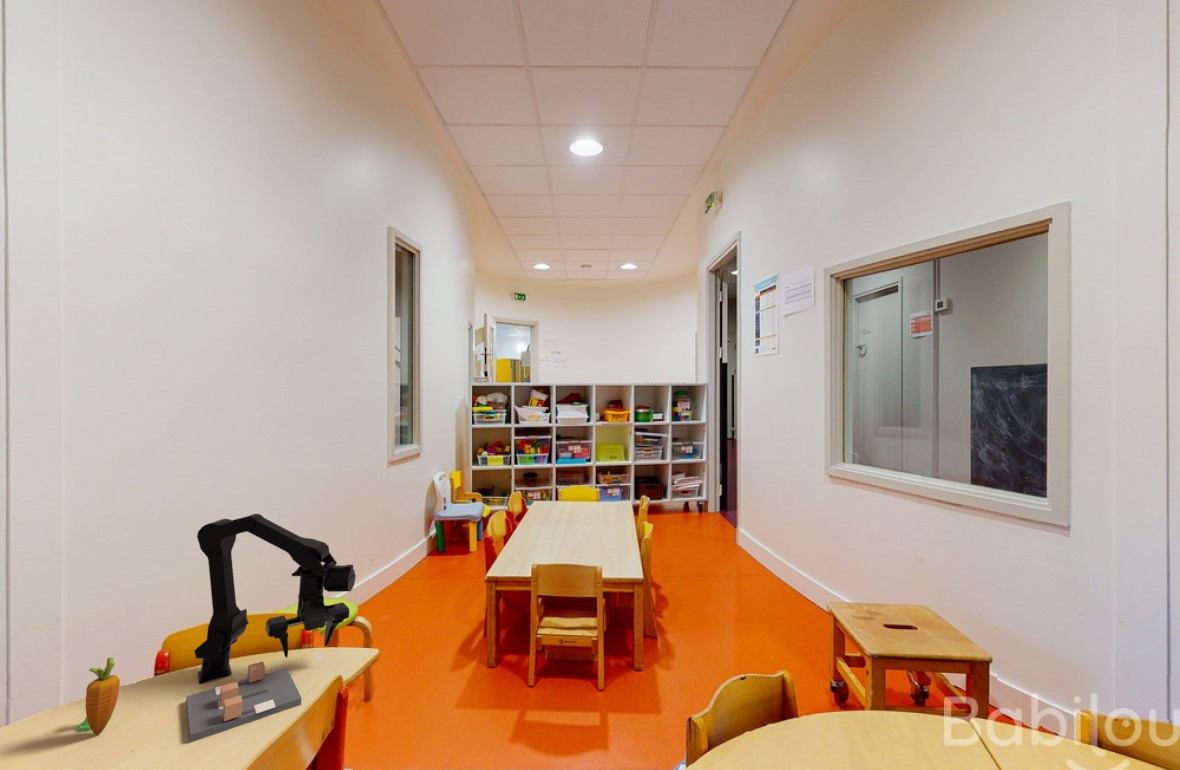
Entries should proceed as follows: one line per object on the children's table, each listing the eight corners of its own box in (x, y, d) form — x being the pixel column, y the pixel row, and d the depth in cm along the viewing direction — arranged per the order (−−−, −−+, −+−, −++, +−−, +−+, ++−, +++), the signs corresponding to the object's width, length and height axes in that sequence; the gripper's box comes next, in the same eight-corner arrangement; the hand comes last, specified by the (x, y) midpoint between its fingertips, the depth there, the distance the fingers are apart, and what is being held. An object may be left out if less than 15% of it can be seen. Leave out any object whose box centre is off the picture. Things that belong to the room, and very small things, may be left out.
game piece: (103, 727, 98) (106, 698, 99) (74, 734, 96) (78, 704, 97) (110, 716, 102) (114, 688, 103) (83, 722, 100) (87, 693, 100)
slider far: (247, 677, 115) (248, 665, 115) (261, 673, 117) (262, 661, 118) (249, 682, 113) (250, 670, 113) (263, 678, 115) (264, 666, 115)
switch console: (185, 702, 108) (186, 695, 108) (286, 673, 121) (286, 666, 121) (189, 743, 95) (190, 735, 95) (301, 705, 108) (301, 697, 108)
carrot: (91, 744, 93) (100, 668, 94) (73, 740, 94) (82, 664, 96) (121, 729, 98) (129, 656, 99) (103, 725, 99) (111, 653, 100)
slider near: (222, 714, 101) (224, 700, 101) (239, 709, 103) (240, 695, 103) (224, 721, 99) (225, 706, 99) (241, 715, 101) (242, 701, 101)
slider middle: (219, 699, 106) (220, 686, 106) (235, 694, 108) (237, 681, 108) (220, 705, 104) (222, 692, 104) (237, 700, 106) (238, 687, 106)
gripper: (275, 610, 112) (269, 676, 111) (357, 592, 125) (353, 652, 123) (267, 596, 120) (262, 658, 119) (345, 581, 133) (341, 637, 131)
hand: (306, 651), depth 123 cm, fingers open, 9 cm apart
